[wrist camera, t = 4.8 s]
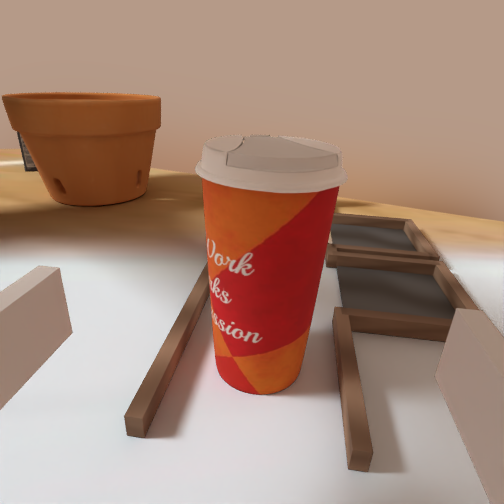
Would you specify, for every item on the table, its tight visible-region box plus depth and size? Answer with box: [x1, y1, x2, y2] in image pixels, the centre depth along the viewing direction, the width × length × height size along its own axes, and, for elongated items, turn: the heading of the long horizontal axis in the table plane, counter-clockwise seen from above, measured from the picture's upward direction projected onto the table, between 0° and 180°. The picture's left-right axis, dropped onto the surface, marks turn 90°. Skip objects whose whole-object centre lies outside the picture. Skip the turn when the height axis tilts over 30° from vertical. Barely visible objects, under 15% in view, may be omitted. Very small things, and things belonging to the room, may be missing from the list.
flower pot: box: [2, 92, 161, 206], centre depth 57 cm, size 21×21×15 cm
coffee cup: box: [195, 135, 348, 395], centre depth 23 cm, size 8×8×15 cm
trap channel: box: [124, 213, 479, 472], centre depth 38 cm, size 46×24×6 cm, turn 172°
